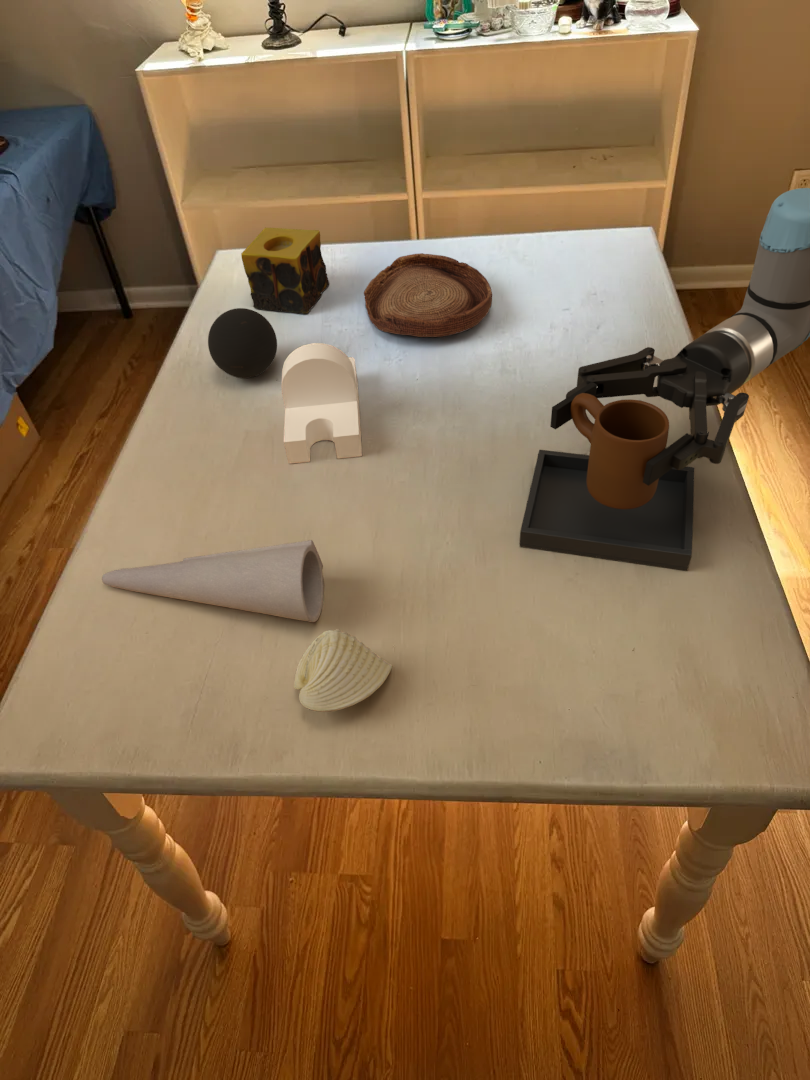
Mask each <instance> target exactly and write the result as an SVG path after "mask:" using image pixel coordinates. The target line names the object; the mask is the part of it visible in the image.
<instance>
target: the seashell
mask: <svg viewBox="0 0 810 1080" xmlns="http://www.w3.org/2000/svg"><path fill="white" fill-rule="evenodd" d="M392 669H393V665H392V664H391V663H389V662H388V661H386V660H385V659H383V658H382V657H380V656H379V655H378V654H377V653H376V652H375V651H373V650H372V649H371V648H370V647H369V646H367V645H366V644H365V643H363V642H362V641H360V640H359V639H358V638H357V637H356V636H353V635H351V634H349V633H348V632H346V631H342V630H341V629H340V628H339V629H338V628H337V629H329V630H325V631H323V633H320V634H319V635H318V636H317V637H316V638H315V639H314V640H313V641H312V642H311V643H310V644H309V646H308V647H307V648H306V650H305V651H304V653H303V655H302V657H301V659H300V660H299V662H298V664H297V667H296V670H295V674H294V683H293V688H294V689H295V690H300V691H299V694H298V700H299V702H300V704H301V705H302V706H303V707H304V708H306V709H308V710H311V711H315V712H321V713H322V712H335V711H340V710H344V709H348V708H350V707H352V706H354V705H356V704H359V703H360V702H363V701H364V700H366V699H367V698H369V697H370V696H372V695H373V694H374V693H375V692H376V691H377V690H378V689H379V688H380V687H381V686H382V685H383V684H384V683H385V681H386V680H387V678H388V677H389V675H390V673H391V671H392Z"/></svg>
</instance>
